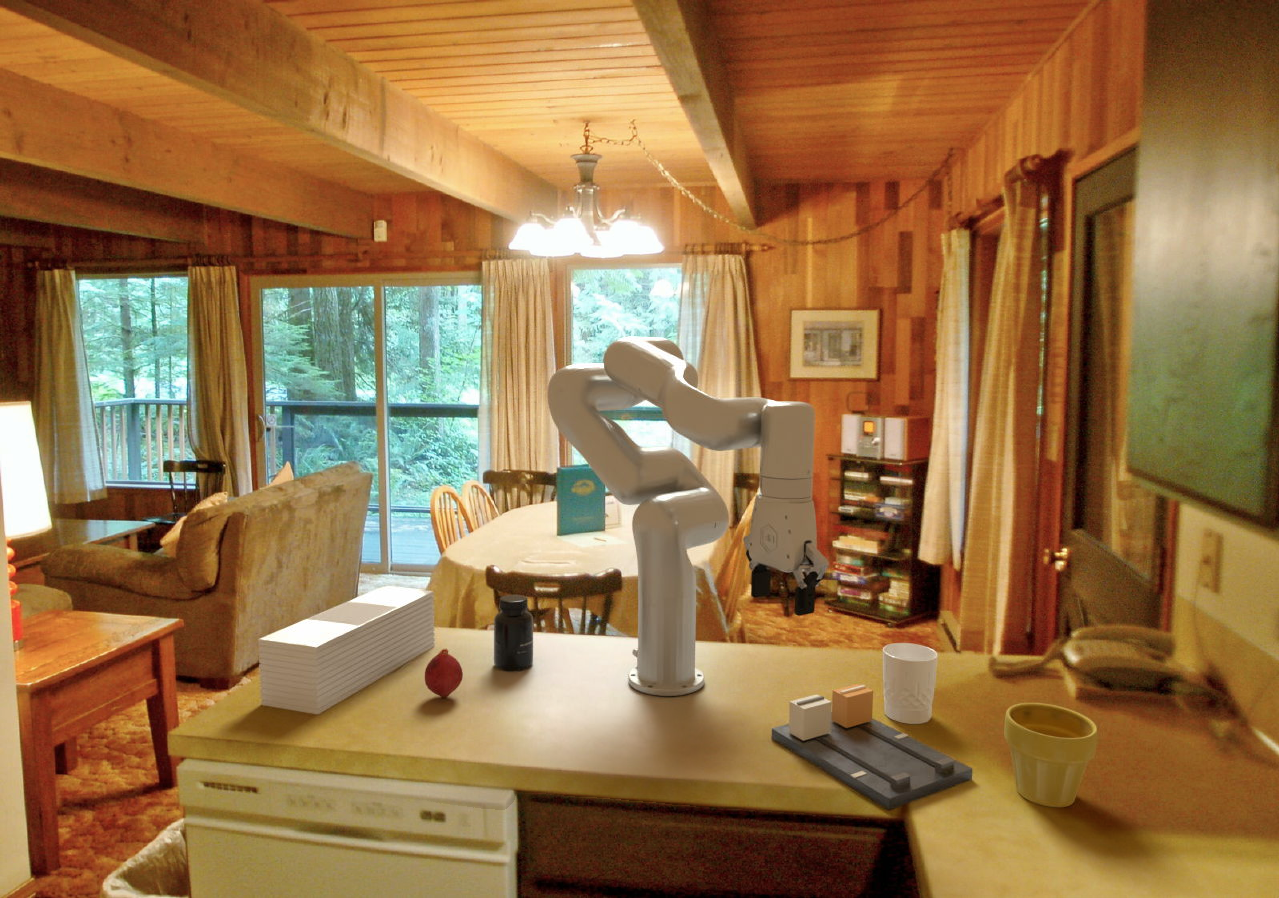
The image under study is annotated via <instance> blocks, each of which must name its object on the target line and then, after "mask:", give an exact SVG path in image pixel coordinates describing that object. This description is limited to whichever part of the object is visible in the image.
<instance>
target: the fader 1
mask: <svg viewBox="0 0 1279 898" xmlns="http://www.w3.org/2000/svg"><path fill="white" fill-rule="evenodd" d="M788 707H789V710H788V711H789V712H788V713H789V714H788V716H789V717H788V724H789V733H791V734H793V735H794V736H796V737H798V738H799V739H801V740H803V741H804V740H807V739H811V738H814V737H818V736H821V735H824V734H828V733H831V712H832V700H829V699H827V698H825V696H823V695H819V694H817V693H816V694H814V695H813V694H812V695H809V696H805V697H803V698H802V697H801V698H798V699H794V700H790V701H789V706H788Z"/></svg>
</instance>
